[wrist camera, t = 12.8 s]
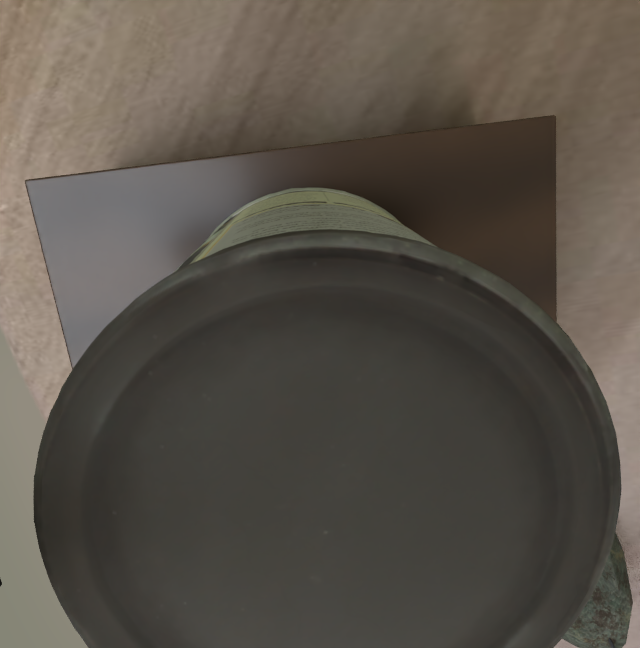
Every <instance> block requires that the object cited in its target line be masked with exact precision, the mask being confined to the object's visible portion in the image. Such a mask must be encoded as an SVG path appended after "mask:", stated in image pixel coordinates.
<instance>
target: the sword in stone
mask: <svg viewBox="0 0 640 648" xmlns="http://www.w3.org/2000/svg"><path fill="white" fill-rule="evenodd" d="M632 604H633V601H632V595H631V590H630V584H629V579H628V573H627V568H626V562H625V557H624V552H623V549H622V547H621V545H620V542H619V540H618V537H617V535H616V533H615V535H614V540H613V544H612V547H611V551H610V554H609V556H608V559H607V562H606V565H605V567H604V570H603V572H602V575H601V577H600V579H599V581H598V583H597V585H596V588H595V590H594V592H593V594H592V596H591V598H590V599H589V601H588V603H587V604H586V606H585V607H584V609H583V610H582V612H581V613H580V615H579V616H578V618H577V619H576V621H575V622H574V623H573V624H572V626H571V627H570V628H569V629H568V630H567V632H566V633H565V635H564V636H563V637H562V639H564V640H566V641H567V642H569V643H571V644H573V645H575V646H577V647H579V648H622V647H623V646H624V645H625V644H626V639H627V634H628V629H629V623H630V616H631V610H632Z"/></svg>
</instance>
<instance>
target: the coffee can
mask: <svg viewBox="0 0 640 648" xmlns="http://www.w3.org/2000/svg"><path fill="white" fill-rule="evenodd" d="M620 496H621V472H620V459H619V452H618V445H617V438H616V433H615V429H614V426H613V422H612V419H611V416H610V412H609V409H608V406H607V403H606V400H605V398H604V396H603V394H602V392H601V390H600V388H599V385H598V383H597V381H596V379H595V377H594V375H593V373H592V371H591V369H590V368H589V366H588V365H587V363H586V362H585V360H584V359H583V357H582V356H581V354H580V352H579V351H578V350H577V348H576V347H575V345H574V344H573V342H572V341H571V339H570V338H569V336H568V335H567V334H566V333H565V332H564V331H563V330H562V328H561V327H560V326H559V325H558V324H557V323H556V322H555V321H554V320H553V319H552V318H551V317H550V316H549V315H548V314H547V313H546V312H545V311H544V310H543V309H542V308H541V307H540V306H539V305H537V304H536V303H535V302H533V301H532V300H531V299H530V298H528V297H527V296H526V295H524V294H523V293H522V292H520V291H519V290H518V289H517V288H515V287H514V286H513V285H511V284H510V283H508V282H507V281H505V280H504V279H502V278H501V277H499V276H497V275H495V274H494V273H492V272H490V271H488V270H486V269H484V268H482V267H480V266H478V265H477V264H475V263H473V262H471V261H469V260H467V259H465V258H463V257H461V256H458V255H456V254H453V253H451V252H448V251H446V250H443V249H441V248H438V247H437V246H435V245H433V244H432V243H430V242H429V241H427V240H426V239H424V238H423V237H421V236H420V235H418V234H417V233H415V232H414V231H412V230H411V229H409V228H407V227H406V226H404V225H403V224H401V223H400V222H399V221H398V220H397V219H396V218H395V217H394V216H393V215H391V214H390V213H389V212H387V211H386V210H384V209H383V208H381V207H379V206H378V205H376V204H374V203H372V202H371V201H368V200H366V199H364V198H362V197H359V196H356V195H353V194H350V193H347V192H345V191H340V190H334V189H327V188H291V189H287V190H283V191H280V192H276V193H272V194H268V195H266V196H263V197H261V198H259V199H256V200H254V201H252V202H250V203H248V204H246V205H245V206H243V207H241V208H240V209H238V210H237V211H236V212H234V213H233V214H231V215H230V216H229V217H228V218H227V219H226V220H224V221H223V222H222V223H221V224H220V225H219V226H218V227H217V228H216V229H215V230H214V231H213V233H212V234H211V235H210V236H209V238H208V239H207V240H206V241H205V243H203V244H202V245H201V246H200V247H199V248H198V249H197V250H196V251H195V252H194V253H193V254H192V255H191V256H190V257H189V258H188V259H187V260H186V261H185V262H184V263H183V264H182V265H181V266H180V267H179V268H178V269H177V270H176V271H175V272H174V273H172V274H171V275H169V276H167V277H165V278H164V279H162V280H161V281H160V282H158V283H157V284H155V285H154V286H152V287H151V288H150V289H148V290H147V291H145V292H144V293H143V294H141V295H140V296H139V297H137V298H136V299H135V300H134V301H133V302H132V303H131V304H130V305H129V306H127V307H126V308H125V309H124V310H123V311H122V312H121V313H120V314H119V315H118V316H117V317H116V318H115V319H113V320H112V321H111V322H110V323H109V324H108V325H107V326H106V327H105V328H104V329H103V330H102V332H101V333H100V334H99V335H98V336H97V337H96V339H95V340H94V341H93V342H92V343H91V344H90V346H89V347H88V348H87V350H86V351H85V353H84V354H83V355H82V357H81V358H80V359H79V361H78V362H77V363H76V365H75V367H74V368H73V370H72V372H71V373H70V375H69V377H68V378H67V380H66V382H65V383H64V385H63V386H62V388H61V391H60V393H59V396H58V398H57V400H56V402H55V404H54V406H53V408H52V410H51V412H50V415H49V418H48V421H47V424H46V427H45V430H44V433H43V436H42V440H41V444H40V448H39V452H38V458H37V464H36V471H35V475H34V523H35V528H36V533H37V539H38V544H39V549H40V552H41V555H42V559H43V562H44V565H45V568H46V571H47V574H48V577H49V579H50V582H51V585H52V587H53V589H54V591H55V593H56V595H57V598H58V600H59V602H60V604H61V606H62V607H63V609H64V611H65V613H66V614H67V616H68V617H69V619H70V621H71V623H72V625H73V626H74V628H75V629H76V631H77V632H78V633H79V635H80V636H81V637H82V639H83V640H84V642H85V643H86V645H87V646H88V647H89V648H553V647H554V646H555V645H556V644H557V643H558V642H559V641H560V640H561V639H562V637H563V636H564V635H565V633H566V632H567V630H568V629H569V628H570V627H571V626H572V624H573V623H574V622H575V621H576V619H577V618H578V616H579V615H580V613H581V612H582V610H583V609H584V607H585V606H586V604H587V603H588V601H589V599H590V598H591V596H592V594H593V592H594V590H595V588H596V585H597V583H598V581H599V579H600V577H601V575H602V572H603V570H604V567H605V565H606V562H607V559H608V556H609V554H610V551H611V547H612V544H613V540H614V535H615V530H616V524H617V519H618V512H619V507H620Z"/></svg>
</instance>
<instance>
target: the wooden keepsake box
mask: <svg viewBox="0 0 640 648" xmlns="http://www.w3.org/2000/svg"><path fill="white" fill-rule="evenodd" d="M25 184H26V188H27V192H28V196H29V200H30V204H31V208H32V212H33V216H34V219H35V223H36V227H37V231H38V235H39V239H40V243H41V247H42V251H43V255H44V259H45V263H46V267H47V271H48V275H49V279H50V283H51V287H52V291H53V295H54V299H55V303H56V307H57V310H58V314H59V318H60V322H61V326H62V330H63V334H64V338H65V342H66V346H67V350H68V354H69V358H70V362H71V366H72V370H73V368H74V367H75V365H76V363H77V362H78V361H79V359H80V358H81V357H82V355H83V354H84V353H85V351H86V350H87V348H88V347H89V346H90V344H91V343H92V342H93V341H94V340H95V339H96V337H97V336H98V335H99V334H100V333H101V332H102V330H103V329H104V328H105V327H106V326H107V325H108V324H109V323H110V322H111V321H112V320H113V319H115V318H116V317H117V316H118V315H119V314H120V313H121V312H122V311H123V310H124V309H125V308H126V307H127V306H129V305H130V304H131V303H132V302H133V301H134V300H135V299H136V298H137V297H139V296H140V295H141V294H143V293H144V292H145V291H147V290H148V289H150V288H151V287H152V286H154V285H155V284H157V283H158V282H160V281H161V280H162V279H164V278H165V277H167V276H169V275H171V274H172V273H174V272H175V271H176V270H177V269H178V268H179V267H180V266H181V265H182V264H183V263H184V262H185V261H186V260H187V259H188V258H189V257H190V256H191V255H192V254H193V253H194V252H195V251H196V250H197V249H198V248H199V247H200V246H201V245H202V244H203V243H205V241H206V240H207V239H208V238H209V236H210V235H211V234H212V233H213V231H214V230H215V229H216V228H217V227H218V226H219V225H220V224H221V223H222V222H223V221H224V220H226V219H227V218H228V217H229V216H230V215H231V214H233V213H234V212H236V211H237V210H238V209H240V208H241V207H243V206H245V205H246V204H248V203H250V202H252V201H254V200H256V199H259V198H261V197H263V196H266V195H268V194H272V193H276V192H280V191H283V190H287V189H291V188H327V189H334V190H340V191H345V192H347V193H350V194H353V195H356V196H359V197H362V198H364V199H366V200H368V201H371V202H372V203H374V204H376V205H378V206H379V207H381V208H383V209H384V210H386V211H387V212H389V213H390V214H391V215H393V216H394V217H395V218H396V219H397V220H398V221H399V222H400V223H401V224H403V225H404V226H406V227H407V228H409V229H411V230H412V231H414V232H415V233H417V234H418V235H420V236H421V237H423V238H424V239H426V240H427V241H429V242H430V243H432V244H433V245H435V246H437V247H438V248H441V249H443V250H446V251H448V252H451V253H453V254H456V255H458V256H461V257H463V258H465V259H467V260H469V261H471V262H473V263H475V264H477V265H478V266H480V267H482V268H484V269H486V270H488V271H490V272H492V273H494V274H495V275H497V276H499V277H501V278H502V279H504V280H505V281H507V282H508V283H510V284H511V285H513V286H514V287H515V288H517V289H518V290H519V291H520V292H522V293H523V294H524V295H526V296H527V297H528V298H530V299H531V300H532V301H533V302H535V303H536V304H537V305H539V306H540V307H541V308H542V309H543V310H544V311H545V312H546V313H547V314H548V315H549V316H550V317H551V318H552V319H553V320H554V321H555V322H556V116H555V115H552V116H543V117H535V118H527V119H519V120H511V121H503V122H494V123H486V124H478V125H470V126H462V127H454V128H445V129H437V130H429V131H421V132H413V133H405V134H396V135H388V136H380V137H372V138H364V139H356V140H347V141H339V142H331V143H323V144H315V145H307V146H298V147H290V148H282V149H274V150H266V151H258V152H249V153H241V154H233V155H225V156H217V157H209V158H200V159H192V160H184V161H176V162H168V163H160V164H152V165H143V166H135V167H127V168H119V169H111V170H103V171H94V172H86V173H78V174H70V175H62V176H54V177H45V178H37V179H29V180H25Z"/></svg>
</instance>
